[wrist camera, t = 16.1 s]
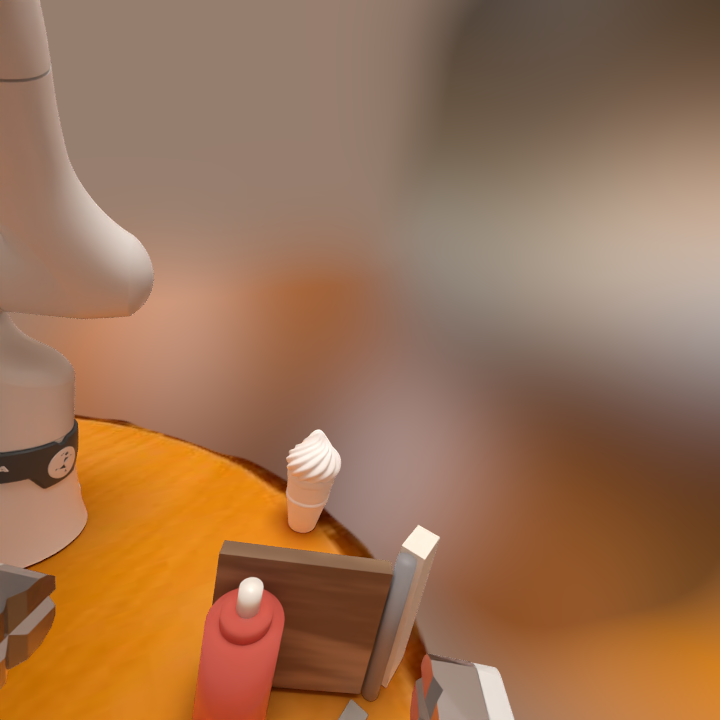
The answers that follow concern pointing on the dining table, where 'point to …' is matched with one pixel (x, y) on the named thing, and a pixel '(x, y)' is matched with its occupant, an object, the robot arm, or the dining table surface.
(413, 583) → the white-tipped grey slat
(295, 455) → the soft serve ice cream cone
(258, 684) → the ketchup bottle
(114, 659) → the dining table surface
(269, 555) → the door
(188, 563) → the dining table surface
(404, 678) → the dining table surface
